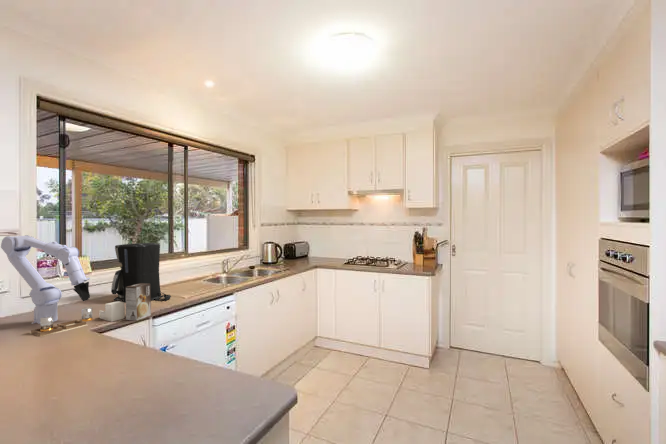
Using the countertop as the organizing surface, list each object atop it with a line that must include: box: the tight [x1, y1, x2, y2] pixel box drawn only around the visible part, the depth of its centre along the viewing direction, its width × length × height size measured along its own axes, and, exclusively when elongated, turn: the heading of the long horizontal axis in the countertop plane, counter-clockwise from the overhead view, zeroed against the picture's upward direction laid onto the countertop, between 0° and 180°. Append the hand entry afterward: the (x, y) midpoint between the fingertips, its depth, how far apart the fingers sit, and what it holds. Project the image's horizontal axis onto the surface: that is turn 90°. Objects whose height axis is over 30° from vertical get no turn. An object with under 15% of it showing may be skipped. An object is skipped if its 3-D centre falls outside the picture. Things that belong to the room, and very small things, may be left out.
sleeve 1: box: [39, 316, 54, 332], centre depth 139 cm, size 4×4×6 cm
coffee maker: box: [110, 242, 172, 303], centre depth 203 cm, size 23×32×34 cm
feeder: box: [98, 301, 126, 322], centre depth 160 cm, size 11×6×8 cm, turn 63°
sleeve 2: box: [81, 307, 93, 323], centre depth 155 cm, size 4×4×6 cm
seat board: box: [29, 319, 88, 338], centre depth 143 cm, size 11×17×2 cm, turn 153°
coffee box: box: [125, 283, 152, 321], centre depth 162 cm, size 9×6×16 cm
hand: (86, 299), depth 153 cm, fingers open, 7 cm apart
